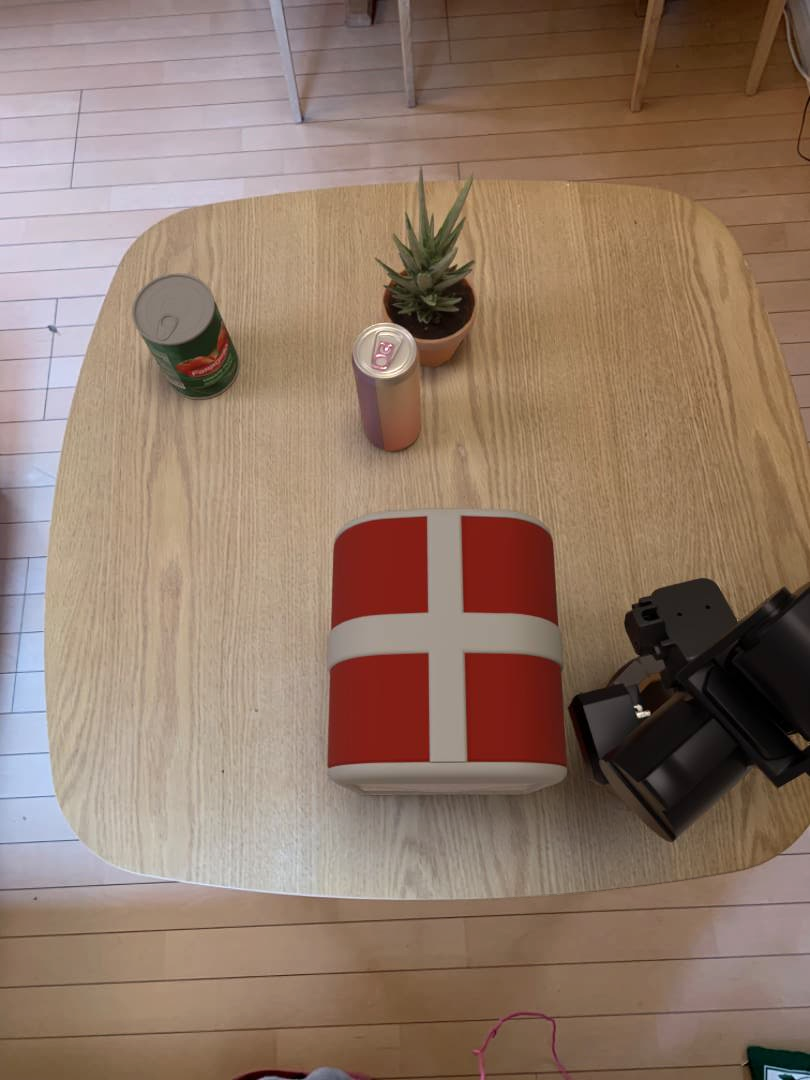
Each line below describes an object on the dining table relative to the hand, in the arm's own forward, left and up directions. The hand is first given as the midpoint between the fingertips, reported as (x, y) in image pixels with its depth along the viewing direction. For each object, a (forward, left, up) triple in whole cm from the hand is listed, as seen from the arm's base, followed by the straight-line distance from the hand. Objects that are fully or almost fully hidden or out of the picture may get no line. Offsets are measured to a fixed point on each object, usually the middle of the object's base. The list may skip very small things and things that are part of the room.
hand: (677, 722), depth 67 cm
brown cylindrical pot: (0, 0, -11) cm, 11 cm away
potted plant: (+9, -45, -11) cm, 47 cm away
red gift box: (+17, -8, -11) cm, 22 cm away
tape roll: (0, 0, -1) cm, 1 cm away
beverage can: (+15, -36, -11) cm, 40 cm away
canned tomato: (+33, -48, -11) cm, 59 cm away
